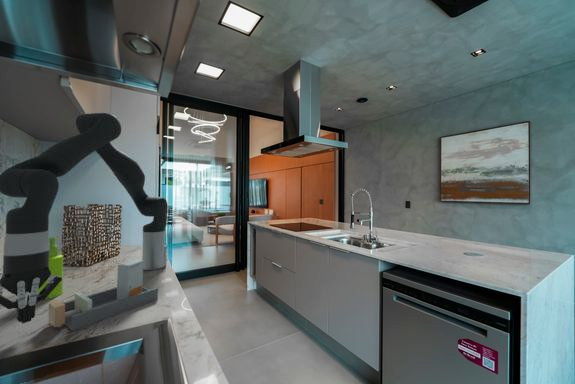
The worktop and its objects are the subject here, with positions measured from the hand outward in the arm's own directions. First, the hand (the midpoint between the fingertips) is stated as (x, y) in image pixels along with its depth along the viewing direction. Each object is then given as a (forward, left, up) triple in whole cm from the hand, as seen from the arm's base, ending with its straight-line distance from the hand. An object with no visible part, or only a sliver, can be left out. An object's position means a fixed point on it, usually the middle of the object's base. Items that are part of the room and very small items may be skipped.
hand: (25, 321), depth 58 cm
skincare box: (-23, 0, -4) cm, 24 cm away
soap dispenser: (-10, -26, -4) cm, 28 cm away
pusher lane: (-18, 0, -4) cm, 18 cm away
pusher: (-8, 0, -3) cm, 9 cm away
